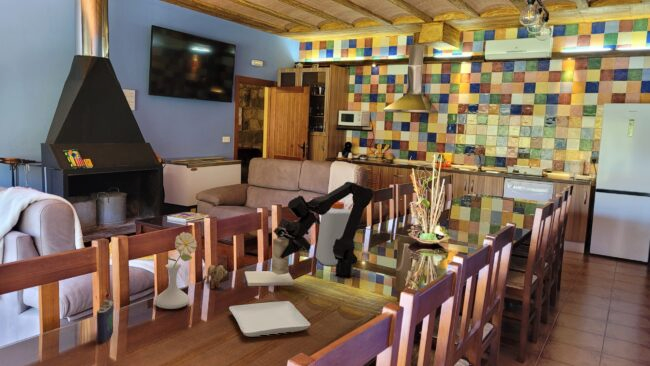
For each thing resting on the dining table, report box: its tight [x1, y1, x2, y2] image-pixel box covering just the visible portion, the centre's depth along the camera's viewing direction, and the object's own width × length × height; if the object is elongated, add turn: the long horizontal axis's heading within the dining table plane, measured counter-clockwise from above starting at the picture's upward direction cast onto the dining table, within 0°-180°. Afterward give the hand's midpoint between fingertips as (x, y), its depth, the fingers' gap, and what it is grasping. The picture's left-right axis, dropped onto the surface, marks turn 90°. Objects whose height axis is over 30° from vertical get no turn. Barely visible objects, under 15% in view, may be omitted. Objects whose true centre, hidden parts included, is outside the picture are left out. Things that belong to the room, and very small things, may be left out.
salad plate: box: [228, 300, 312, 338], centre depth 152 cm, size 21×21×3 cm
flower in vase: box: [153, 231, 197, 310], centre depth 160 cm, size 13×11×25 cm
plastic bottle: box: [315, 201, 351, 267], centre depth 224 cm, size 15×15×28 cm
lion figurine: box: [205, 264, 228, 289], centre depth 184 cm, size 15×5×9 cm, turn 37°
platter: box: [244, 270, 295, 287], centre depth 194 cm, size 18×14×1 cm
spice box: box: [271, 237, 290, 275], centre depth 183 cm, size 5×5×13 cm
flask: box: [96, 299, 114, 345], centre depth 136 cm, size 9×3×11 cm, turn 8°
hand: (277, 255), depth 183 cm, fingers closed on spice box, 5 cm apart
